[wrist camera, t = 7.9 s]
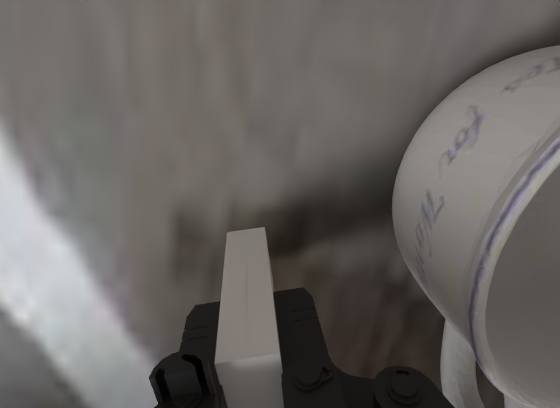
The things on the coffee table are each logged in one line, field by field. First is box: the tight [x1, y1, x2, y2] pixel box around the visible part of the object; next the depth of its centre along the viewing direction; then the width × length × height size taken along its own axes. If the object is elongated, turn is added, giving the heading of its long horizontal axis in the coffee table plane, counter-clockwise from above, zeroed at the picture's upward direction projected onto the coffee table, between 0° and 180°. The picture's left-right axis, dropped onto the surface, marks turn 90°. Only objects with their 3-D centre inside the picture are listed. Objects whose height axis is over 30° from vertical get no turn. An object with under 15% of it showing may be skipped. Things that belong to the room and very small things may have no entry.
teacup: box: [392, 45, 560, 408], centre depth 13 cm, size 14×11×8 cm
